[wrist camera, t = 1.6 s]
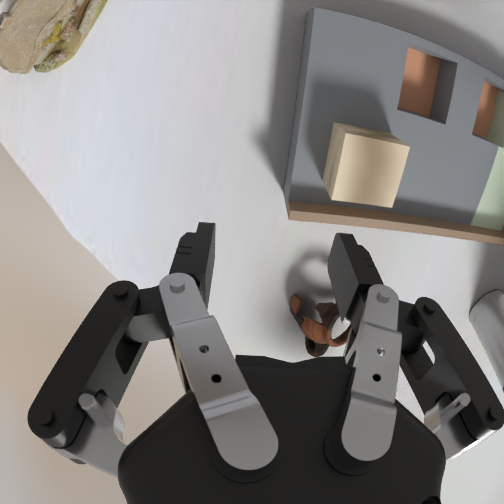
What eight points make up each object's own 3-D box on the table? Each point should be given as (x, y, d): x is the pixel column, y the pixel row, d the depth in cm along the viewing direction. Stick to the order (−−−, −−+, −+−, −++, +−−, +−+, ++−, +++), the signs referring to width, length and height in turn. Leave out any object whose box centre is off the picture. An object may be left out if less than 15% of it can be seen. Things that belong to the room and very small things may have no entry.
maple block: (391, 133, 25) (409, 146, 22) (377, 188, 29) (392, 207, 26) (333, 121, 25) (345, 133, 22) (322, 181, 29) (331, 199, 25)
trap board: (526, 100, 23) (561, 116, 18) (487, 222, 35) (513, 250, 30) (306, 12, 22) (322, 1, 16) (283, 192, 34) (289, 225, 28)
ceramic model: (52, 90, 25) (-5, 112, 17) (5, 45, 20) (-52, 58, 12) (130, -8, 20) (83, -25, 12) (72, -49, 15) (20, -65, 7)
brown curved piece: (289, 276, 42) (328, 305, 35) (338, 266, 46) (377, 290, 40) (278, 344, 46) (309, 377, 40) (324, 330, 51) (356, 356, 44)
